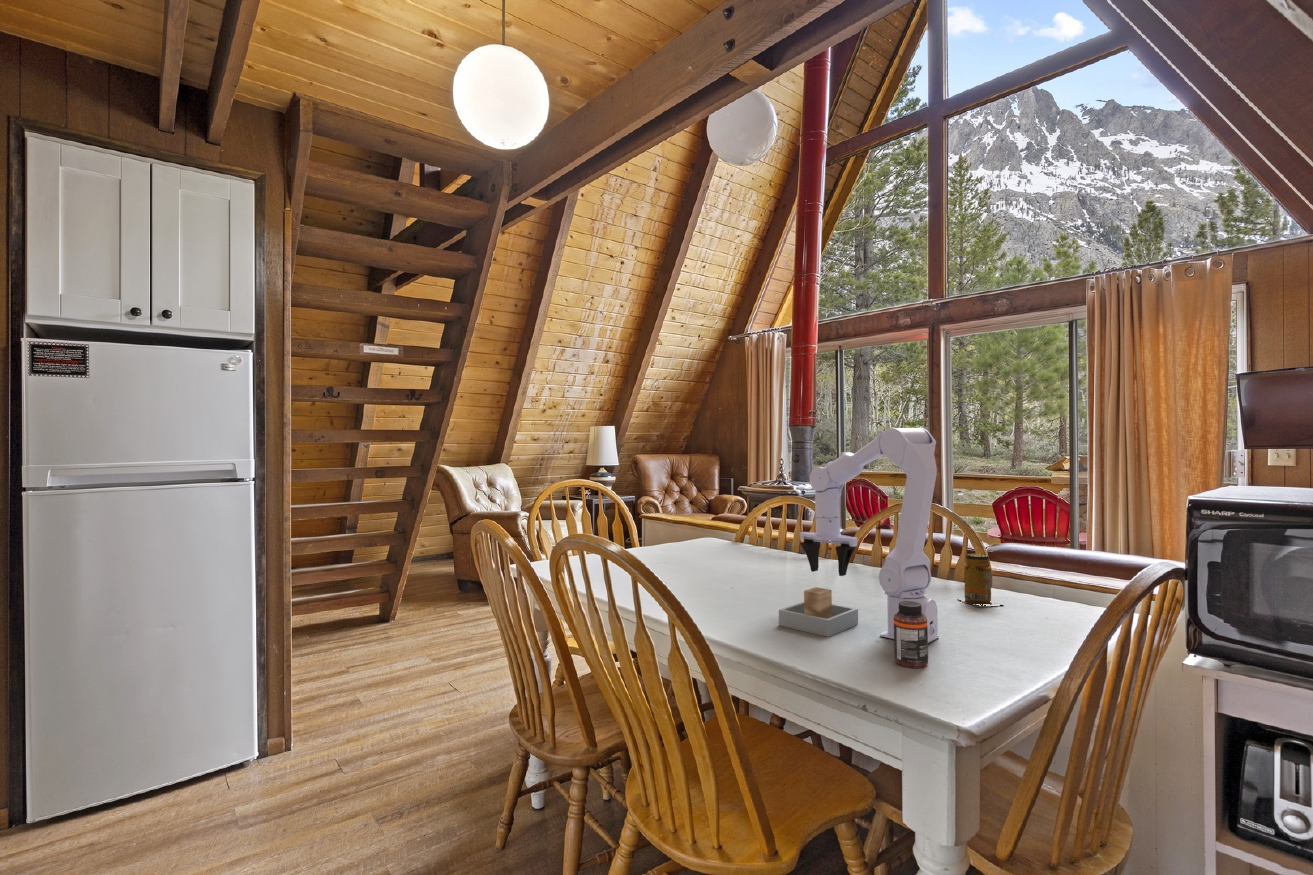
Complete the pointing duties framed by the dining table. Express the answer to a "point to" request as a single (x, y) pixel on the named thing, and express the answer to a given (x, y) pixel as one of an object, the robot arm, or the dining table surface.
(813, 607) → the carton
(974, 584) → the condiment
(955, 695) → the dining table surface
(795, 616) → the tray
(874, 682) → the dining table surface
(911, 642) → the supplement bottle
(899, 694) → the dining table surface
